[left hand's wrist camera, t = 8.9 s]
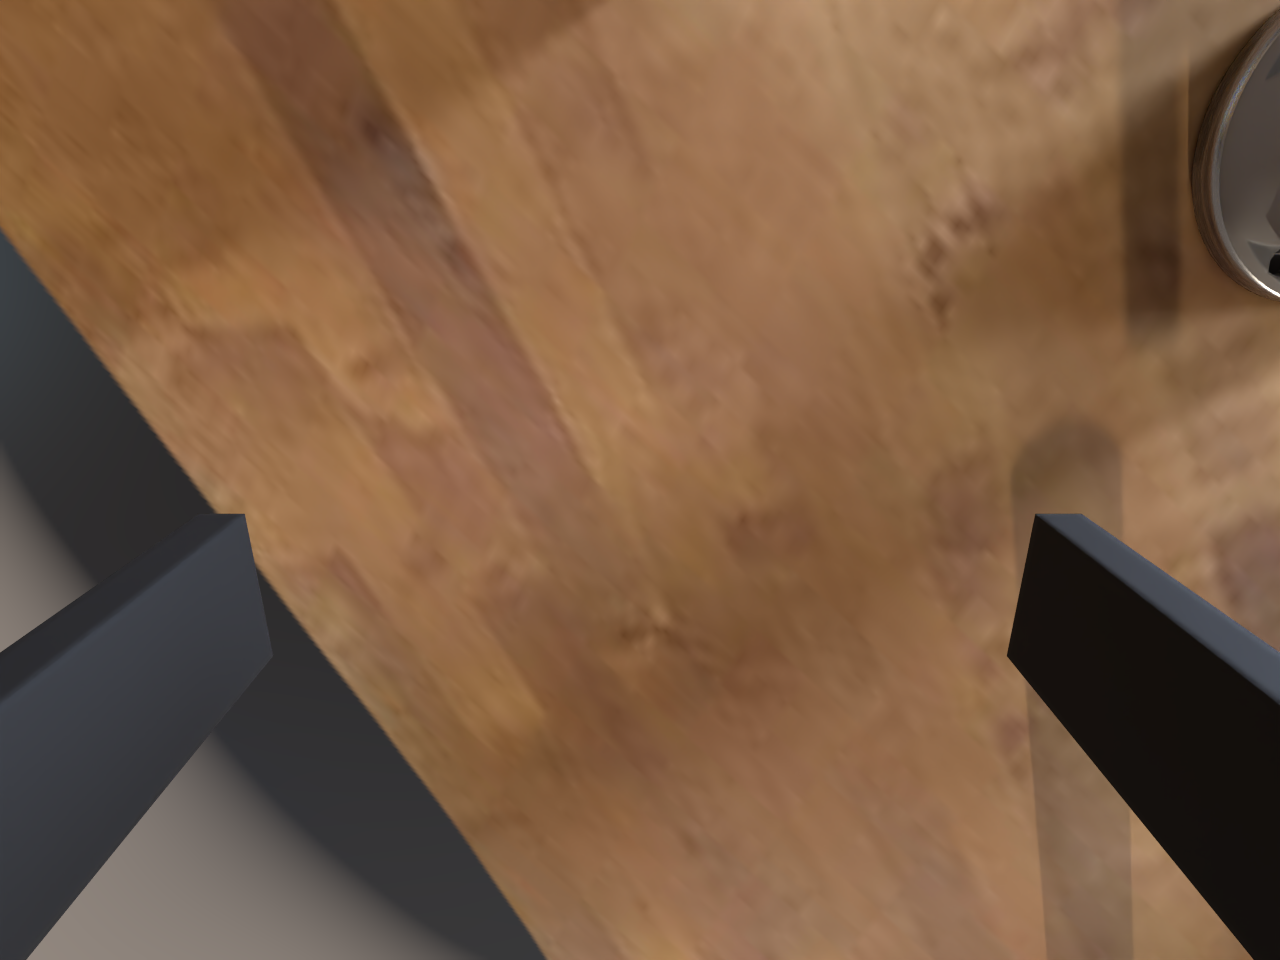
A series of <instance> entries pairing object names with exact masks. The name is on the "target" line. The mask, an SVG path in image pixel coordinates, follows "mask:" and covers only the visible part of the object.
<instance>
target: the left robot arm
mask: <svg viewBox="0 0 1280 960" xmlns="http://www.w3.org/2000/svg"><path fill="white" fill-rule="evenodd" d="M1192 194H1193V205H1194V211H1195V217H1196V221H1197V224H1198V228H1199V231H1200V234H1201V236H1202V239H1203V241H1204V243H1205V245H1206V247H1207V249H1208V251H1209V252H1210V254H1211V256H1212V257H1213V259H1214V260H1215V261H1216V263H1217V264H1218V265H1219V267H1220V268H1221V269H1222V270H1223V271H1224V272H1225V273H1226V274H1227V275H1228V276H1229V277H1230V278H1232V279H1233V280H1234V281H1235V282H1236V283H1238V284H1239V285H1241V286H1242V287H1244V288H1246V289H1247V290H1249V291H1251V292H1253V293H1255V294H1257V295H1260V296H1262V297H1265V298H1268V299H1271V300H1274V301H1279V302H1280V10H1279V11H1277V12H1276V13H1275V14H1274V15H1273V16H1272V17H1271V18H1270V19H1269V20H1268V21H1267V22H1266V23H1265V24H1264V25H1263V26H1262V27H1261V28H1260V29H1259V30H1258V31H1257V32H1256V33H1255V34H1254V36H1253V37H1252V38H1251V39H1250V40H1249V42H1248V43H1247V44H1246V45H1245V47H1244V48H1243V49H1242V50H1241V52H1240V53H1239V55H1238V56H1237V57H1236V59H1235V60H1234V62H1233V63H1232V65H1231V66H1230V68H1229V69H1228V71H1227V73H1226V74H1225V76H1224V78H1223V79H1222V81H1221V83H1220V84H1219V86H1218V88H1217V90H1216V92H1215V94H1214V96H1213V98H1212V100H1211V103H1210V105H1209V108H1208V110H1207V113H1206V115H1205V118H1204V121H1203V124H1202V127H1201V130H1200V133H1199V137H1198V141H1197V146H1196V150H1195V156H1194V163H1193V174H1192ZM272 657H273V653H272V648H271V643H270V638H269V633H268V628H267V623H266V618H265V613H264V608H263V603H262V598H261V593H260V588H259V583H258V578H257V573H256V568H255V563H254V558H253V553H252V548H251V543H250V538H249V533H248V528H247V523H246V518H245V514H198V515H196V516H195V517H193V518H192V519H190V520H189V521H188V522H186V523H185V524H183V525H182V526H180V527H179V528H178V529H176V530H175V531H173V532H172V533H170V534H169V535H168V536H166V537H165V538H163V539H162V540H160V541H159V542H158V543H156V544H155V545H153V546H152V547H150V548H149V549H148V550H146V551H145V552H143V553H142V554H140V555H139V556H138V557H136V558H135V559H133V560H132V561H130V562H129V563H128V564H126V565H125V566H123V567H122V568H120V569H119V570H118V571H116V572H115V573H113V574H112V575H110V576H109V577H108V578H106V579H105V580H103V581H102V582H100V583H99V584H98V585H96V586H95V587H93V588H92V589H90V590H89V591H88V592H86V593H85V594H83V595H82V596H81V597H79V598H78V599H76V600H75V601H73V602H72V603H70V604H69V605H68V606H66V607H65V608H63V609H62V610H60V611H59V612H58V613H56V614H55V615H53V616H52V617H50V618H49V619H48V620H46V621H45V622H43V623H42V624H40V625H39V626H38V627H36V628H35V629H33V630H32V631H30V632H29V633H28V634H26V635H25V636H23V637H22V638H21V639H19V640H18V641H16V642H15V643H13V644H12V645H10V646H9V647H8V648H6V649H5V650H3V651H2V652H0V960H26V959H27V958H28V957H29V956H30V954H31V953H32V952H33V951H34V949H35V948H36V947H37V946H38V944H39V943H40V942H41V941H42V940H43V938H44V937H45V936H46V935H47V933H48V932H49V931H50V930H51V929H52V927H53V926H54V925H55V924H56V922H57V921H58V920H59V919H60V917H61V916H62V915H63V914H64V913H65V911H66V910H67V909H68V908H69V906H70V905H71V904H72V903H73V901H74V900H75V899H76V898H77V897H78V895H79V894H80V893H81V892H82V890H83V889H84V888H85V887H86V885H87V884H88V883H89V882H90V881H91V879H92V878H93V877H94V876H95V874H96V873H97V872H98V871H99V869H100V868H101V867H102V866H103V865H104V863H105V862H106V861H107V860H108V858H109V857H110V856H111V855H112V853H113V852H114V851H115V850H116V848H117V847H118V846H119V845H120V844H121V842H122V841H123V840H124V839H125V837H126V836H127V835H128V834H129V833H130V831H131V830H132V829H133V828H134V826H135V825H136V824H137V823H138V821H139V820H140V819H141V818H142V817H143V815H144V814H145V813H146V812H147V810H148V809H149V808H150V807H151V806H152V804H153V803H154V802H155V801H156V799H157V798H158V797H159V796H160V794H161V793H162V792H163V791H164V790H165V788H166V787H167V786H168V785H169V783H170V782H171V781H172V780H173V778H174V777H175V776H176V775H177V774H178V772H179V771H180V770H181V769H182V767H183V766H184V765H185V764H186V763H187V761H188V760H189V759H190V758H191V756H192V755H193V754H194V753H195V751H196V750H197V749H198V748H199V746H200V745H201V744H202V743H203V742H204V740H205V739H206V738H207V737H208V735H209V734H210V733H211V732H212V731H213V729H214V728H215V727H216V726H217V724H218V723H219V722H220V721H221V719H222V718H223V717H224V716H225V715H226V713H227V712H228V711H229V710H230V708H231V707H232V706H233V705H234V703H235V702H236V701H237V700H238V699H239V697H240V696H241V695H242V694H243V692H244V691H245V690H246V689H247V687H248V686H249V685H250V684H251V683H252V681H253V680H254V679H255V678H256V676H257V675H258V674H259V673H260V671H261V670H262V669H263V668H264V667H265V665H266V664H267V663H268V662H269V660H270V659H271V658H272ZM1007 657H1008V658H1009V659H1010V660H1011V662H1012V663H1013V664H1014V665H1015V667H1016V668H1017V669H1018V670H1019V672H1020V673H1021V674H1022V675H1023V676H1024V678H1025V679H1026V680H1027V681H1028V683H1029V684H1030V685H1031V686H1032V687H1033V689H1034V690H1035V691H1036V692H1037V694H1038V695H1039V696H1040V697H1041V699H1042V700H1043V701H1044V702H1045V703H1046V705H1047V706H1048V707H1049V708H1050V710H1051V711H1052V712H1053V713H1054V715H1055V716H1056V717H1057V718H1058V719H1059V721H1060V722H1061V723H1062V724H1063V726H1064V727H1065V728H1066V729H1067V731H1068V732H1069V733H1070V734H1071V735H1072V737H1073V738H1074V739H1075V740H1076V742H1077V743H1078V744H1079V745H1080V747H1081V748H1082V749H1083V750H1084V751H1085V753H1086V754H1087V755H1088V756H1089V758H1090V759H1091V760H1092V761H1093V763H1094V764H1095V765H1096V766H1097V767H1098V769H1099V770H1100V771H1101V772H1102V774H1103V775H1104V776H1105V777H1106V778H1107V780H1108V781H1109V782H1110V783H1111V785H1112V786H1113V787H1114V788H1115V790H1116V791H1117V792H1118V793H1119V794H1120V796H1121V797H1122V798H1123V799H1124V801H1125V802H1126V803H1127V804H1128V806H1129V807H1130V808H1131V809H1132V810H1133V812H1134V813H1135V814H1136V815H1137V817H1138V818H1139V819H1140V820H1141V822H1142V823H1143V824H1144V825H1145V826H1146V828H1147V829H1148V830H1149V831H1150V833H1151V834H1152V835H1153V836H1154V838H1155V839H1156V840H1157V841H1158V842H1159V844H1160V845H1161V846H1162V847H1163V849H1164V850H1165V851H1166V852H1167V854H1168V855H1169V856H1170V857H1171V858H1172V860H1173V861H1174V862H1175V863H1176V865H1177V866H1178V867H1179V868H1180V869H1181V871H1182V872H1183V873H1184V874H1185V876H1186V877H1187V878H1188V879H1189V881H1190V882H1191V883H1192V884H1193V885H1194V887H1195V888H1196V889H1197V890H1198V892H1199V893H1200V894H1201V895H1202V897H1203V898H1204V899H1205V900H1206V901H1207V903H1208V904H1209V905H1210V906H1211V908H1212V909H1213V910H1214V911H1215V913H1216V914H1217V915H1218V916H1219V917H1220V919H1221V920H1222V921H1223V922H1224V924H1225V925H1226V926H1227V927H1228V929H1229V930H1230V931H1231V932H1232V933H1233V935H1234V936H1235V937H1236V938H1237V940H1238V941H1239V942H1240V943H1241V945H1242V946H1243V947H1244V948H1245V949H1246V951H1247V952H1248V953H1249V954H1250V956H1251V957H1252V958H1253V959H1254V960H1280V652H1278V651H1277V650H1275V649H1274V648H1272V647H1271V646H1270V645H1268V644H1267V643H1265V642H1264V641H1262V640H1261V639H1260V638H1258V637H1257V636H1255V635H1254V634H1252V633H1251V632H1250V631H1248V630H1247V629H1245V628H1244V627H1242V626H1241V625H1240V624H1238V623H1237V622H1235V621H1234V620H1232V619H1231V618H1230V617H1228V616H1227V615H1225V614H1224V613H1222V612H1221V611H1220V610H1218V609H1217V608H1215V607H1214V606H1212V605H1211V604H1210V603H1208V602H1207V601H1205V600H1204V599H1202V598H1201V597H1200V596H1198V595H1197V594H1195V593H1194V592H1192V591H1191V590H1190V589H1188V588H1187V587H1185V586H1184V585H1182V584H1181V583H1180V582H1178V581H1177V580H1175V579H1174V578H1172V577H1171V576H1170V575H1168V574H1167V573H1165V572H1164V571H1162V570H1161V569H1160V568H1158V567H1157V566H1155V565H1154V564H1152V563H1151V562H1150V561H1148V560H1147V559H1145V558H1144V557H1142V556H1141V555H1140V554H1138V553H1137V552H1135V551H1134V550H1132V549H1131V548H1130V547H1128V546H1127V545H1125V544H1124V543H1122V542H1121V541H1120V540H1118V539H1117V538H1115V537H1114V536H1112V535H1111V534H1110V533H1108V532H1107V531H1105V530H1104V529H1102V528H1101V527H1100V526H1098V525H1097V524H1095V523H1094V522H1092V521H1091V520H1090V519H1088V518H1087V517H1085V516H1084V515H1082V514H1035V518H1034V523H1033V528H1032V533H1031V538H1030V543H1029V548H1028V553H1027V558H1026V563H1025V568H1024V573H1023V578H1022V583H1021V588H1020V593H1019V598H1018V603H1017V608H1016V613H1015V618H1014V623H1013V628H1012V633H1011V638H1010V643H1009V648H1008V653H1007Z"/></svg>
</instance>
